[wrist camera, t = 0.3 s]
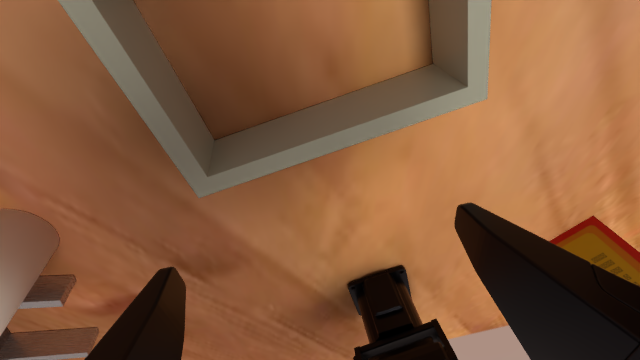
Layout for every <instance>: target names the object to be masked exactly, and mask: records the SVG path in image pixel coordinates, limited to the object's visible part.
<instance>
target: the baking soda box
mask: <svg viewBox="0 0 640 360" xmlns="http://www.w3.org/2000/svg"><path fill="white" fill-rule="evenodd" d="M549 242H551V243H553V244H555V245H557V246H559V247H561V248H563V249H565V250H567V251H569V252H571V253H573V254H575V255H577V256H579V257H581V258H583V259H585V260H587V261H589V262H590V263H591V264H595V265H597V266H599V267H601V268H603V269H605V270H607V271H609V272H611V273H613V274H615V275H617V276H619V277H621V278H623V279H625V280H627V281H629V282H631V283H634V284H636V285H638V286H640V252H638V251H637V250H636V249H634V248H633V247H632V246H631V245H629V244H628V243H627V242H626V241H624V240H623V239H622V238H621V237H619V236H618V235H617V234H616V233H614V232H613V231H612V230H611V229H609V228H608V227H607V226H606V225H604V224H603V223H602V222H601V221H599V220H598V219H597V218H596V217H594V216H592V217H590V218H588V219H587V220H585V221H583V222H582V223H580V224H578V225H576V226H575V227H573V228H571V229H570V230H568V231H566V232H564V233H563V234H561V235H559V236H558V237H556V238H554V239H553V240H551V241H549Z"/></svg>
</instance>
